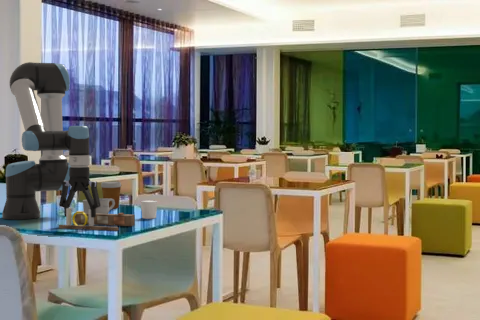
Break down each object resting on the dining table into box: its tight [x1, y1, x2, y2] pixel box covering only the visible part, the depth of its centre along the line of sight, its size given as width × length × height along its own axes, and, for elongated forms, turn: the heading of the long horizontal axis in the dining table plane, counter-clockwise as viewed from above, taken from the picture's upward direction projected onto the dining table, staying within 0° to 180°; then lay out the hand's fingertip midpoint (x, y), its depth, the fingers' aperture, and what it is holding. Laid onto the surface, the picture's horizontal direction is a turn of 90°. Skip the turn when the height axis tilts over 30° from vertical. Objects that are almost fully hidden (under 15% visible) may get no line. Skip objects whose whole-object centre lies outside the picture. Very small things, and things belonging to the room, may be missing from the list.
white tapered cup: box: [140, 199, 158, 220], centre depth 295 cm, size 7×7×7 cm
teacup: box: [82, 197, 115, 214], centre depth 295 cm, size 14×11×8 cm
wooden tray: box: [58, 212, 136, 232], centre depth 270 cm, size 24×15×5 cm, turn 74°
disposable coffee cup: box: [100, 181, 122, 210], centre depth 328 cm, size 10×10×12 cm
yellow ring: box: [72, 210, 88, 226], centre depth 271 cm, size 6×3×6 cm, turn 73°
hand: (80, 225), depth 271 cm, fingers open, 9 cm apart
